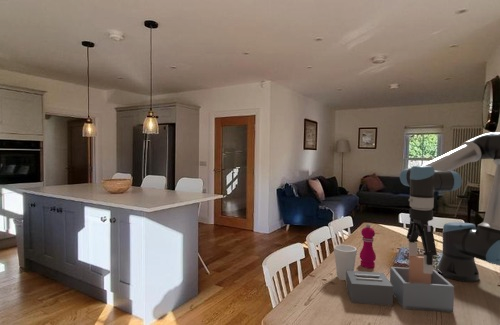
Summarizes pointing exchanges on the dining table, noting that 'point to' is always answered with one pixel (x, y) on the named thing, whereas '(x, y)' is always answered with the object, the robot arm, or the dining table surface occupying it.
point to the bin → (422, 291)
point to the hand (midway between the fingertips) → (419, 265)
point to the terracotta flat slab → (418, 270)
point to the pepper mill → (367, 248)
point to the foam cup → (344, 259)
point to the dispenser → (369, 288)
